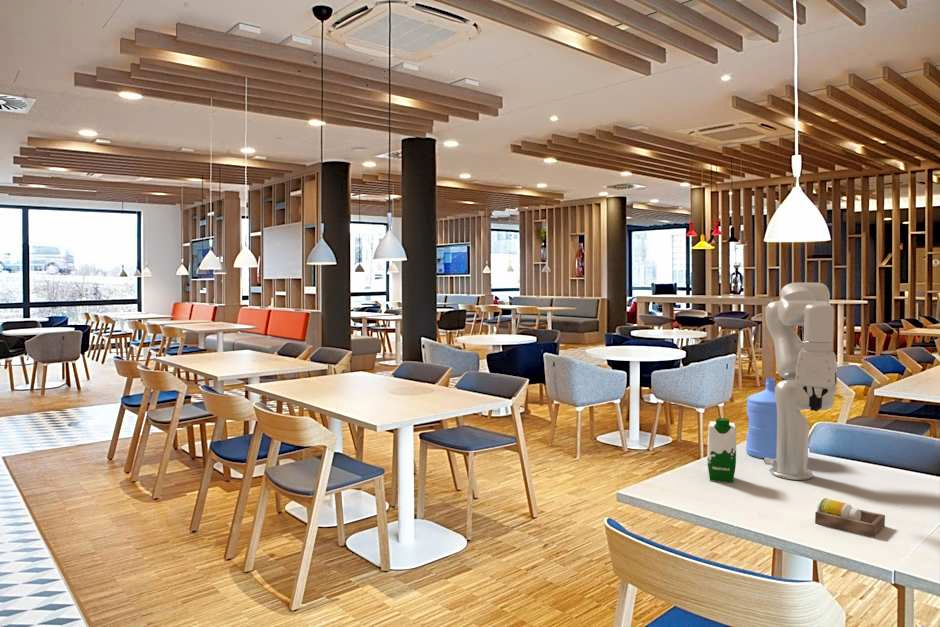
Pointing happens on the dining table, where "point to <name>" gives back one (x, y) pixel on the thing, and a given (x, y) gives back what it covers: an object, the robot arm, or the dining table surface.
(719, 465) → the milk carton
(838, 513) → the supplement bottle
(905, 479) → the dining table surface
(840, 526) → the u rest
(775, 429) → the water jug
